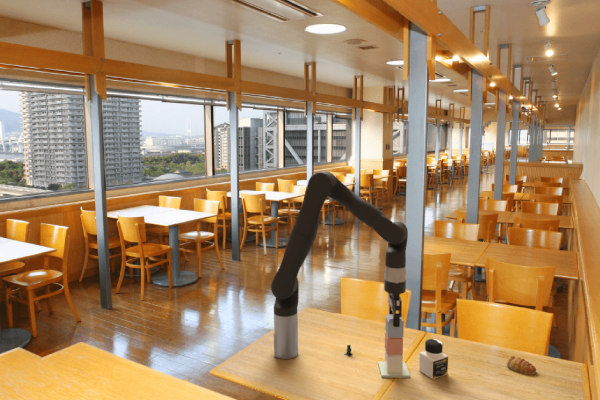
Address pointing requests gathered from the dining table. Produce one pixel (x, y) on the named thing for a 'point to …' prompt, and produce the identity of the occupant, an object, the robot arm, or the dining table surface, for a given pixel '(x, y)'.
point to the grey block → (392, 330)
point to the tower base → (393, 374)
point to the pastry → (521, 365)
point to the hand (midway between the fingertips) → (394, 321)
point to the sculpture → (348, 351)
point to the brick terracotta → (393, 345)
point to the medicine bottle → (433, 359)
